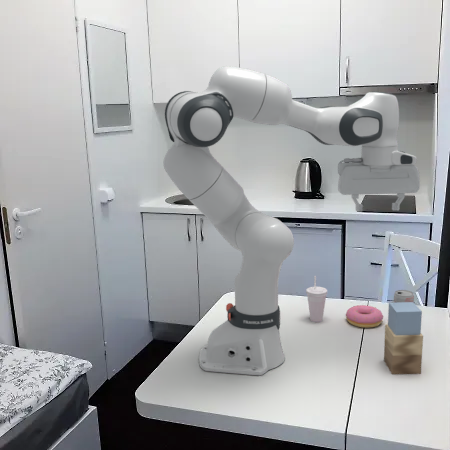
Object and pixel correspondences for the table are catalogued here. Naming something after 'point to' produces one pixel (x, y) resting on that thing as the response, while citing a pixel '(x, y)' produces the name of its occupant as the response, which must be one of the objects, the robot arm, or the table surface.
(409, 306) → the blue block
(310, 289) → the smoothie
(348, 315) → the doughnut
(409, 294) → the energy drink
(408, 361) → the tower base
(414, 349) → the tower top
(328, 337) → the table surface
